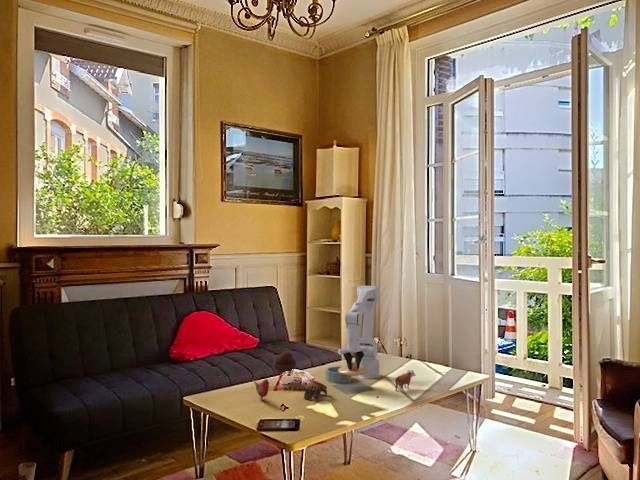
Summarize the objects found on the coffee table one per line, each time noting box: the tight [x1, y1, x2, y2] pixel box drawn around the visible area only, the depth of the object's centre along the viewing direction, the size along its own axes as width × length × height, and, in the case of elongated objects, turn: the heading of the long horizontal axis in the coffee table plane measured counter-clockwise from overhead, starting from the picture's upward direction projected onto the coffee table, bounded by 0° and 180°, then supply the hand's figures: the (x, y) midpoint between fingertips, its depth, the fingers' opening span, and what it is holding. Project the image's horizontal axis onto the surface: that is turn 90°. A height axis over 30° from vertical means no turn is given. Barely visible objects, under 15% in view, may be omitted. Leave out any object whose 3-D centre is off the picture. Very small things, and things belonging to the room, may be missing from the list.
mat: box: [331, 381, 376, 395], centre depth 248 cm, size 15×15×1 cm
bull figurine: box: [394, 369, 416, 392], centre depth 246 cm, size 4×13×8 cm, turn 137°
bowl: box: [325, 365, 353, 384], centre depth 262 cm, size 12×12×5 cm
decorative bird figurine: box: [252, 378, 270, 402], centre depth 232 cm, size 3×18×10 cm, turn 27°
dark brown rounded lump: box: [272, 350, 297, 375], centre depth 257 cm, size 11×11×15 cm
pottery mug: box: [303, 380, 328, 401], centre depth 234 cm, size 12×10×8 cm
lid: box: [338, 361, 369, 377], centre depth 248 cm, size 14×14×5 cm
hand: (353, 368), depth 248 cm, fingers closed on lid, 3 cm apart
